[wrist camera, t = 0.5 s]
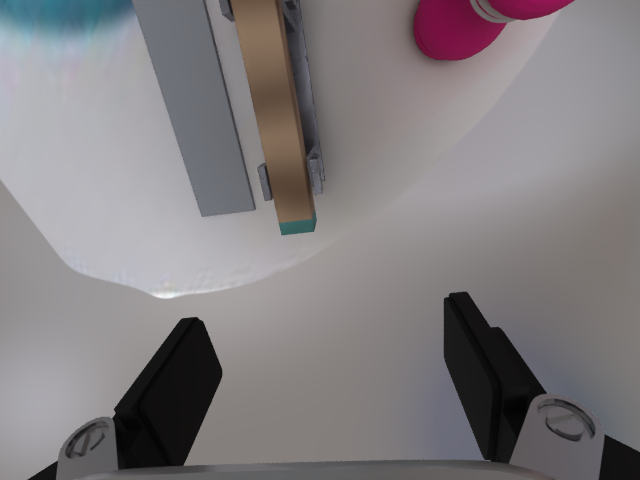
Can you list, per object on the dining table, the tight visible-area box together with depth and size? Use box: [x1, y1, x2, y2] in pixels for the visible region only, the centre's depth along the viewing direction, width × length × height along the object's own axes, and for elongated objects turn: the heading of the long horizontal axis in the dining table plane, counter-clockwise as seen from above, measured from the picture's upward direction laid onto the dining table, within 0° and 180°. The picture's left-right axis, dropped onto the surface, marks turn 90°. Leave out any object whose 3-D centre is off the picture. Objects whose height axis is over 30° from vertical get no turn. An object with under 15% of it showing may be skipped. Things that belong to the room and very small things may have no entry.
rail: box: [231, 0, 317, 235], centre depth 24 cm, size 23×3×3 cm, turn 9°
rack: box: [219, 0, 325, 201], centre depth 28 cm, size 19×5×10 cm, turn 9°
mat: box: [132, 0, 256, 217], centre depth 34 cm, size 24×7×1 cm, turn 9°
